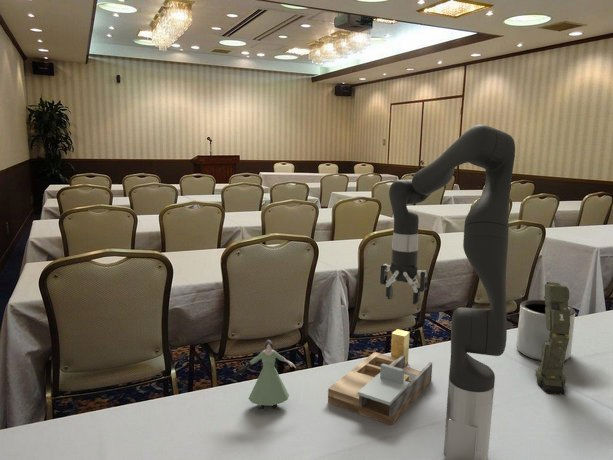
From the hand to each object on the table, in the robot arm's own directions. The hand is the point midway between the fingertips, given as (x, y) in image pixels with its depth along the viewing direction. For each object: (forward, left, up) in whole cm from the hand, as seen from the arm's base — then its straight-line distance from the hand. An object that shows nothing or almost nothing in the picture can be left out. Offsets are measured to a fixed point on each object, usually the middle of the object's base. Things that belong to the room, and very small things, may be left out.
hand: (402, 301), depth 149 cm
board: (-19, -3, -20) cm, 27 cm away
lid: (-27, -8, -14) cm, 32 cm away
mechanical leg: (+13, -40, -20) cm, 47 cm away
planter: (+34, -35, -20) cm, 53 cm away
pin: (0, 0, -20) cm, 20 cm away
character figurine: (-43, +18, -20) cm, 51 cm away
